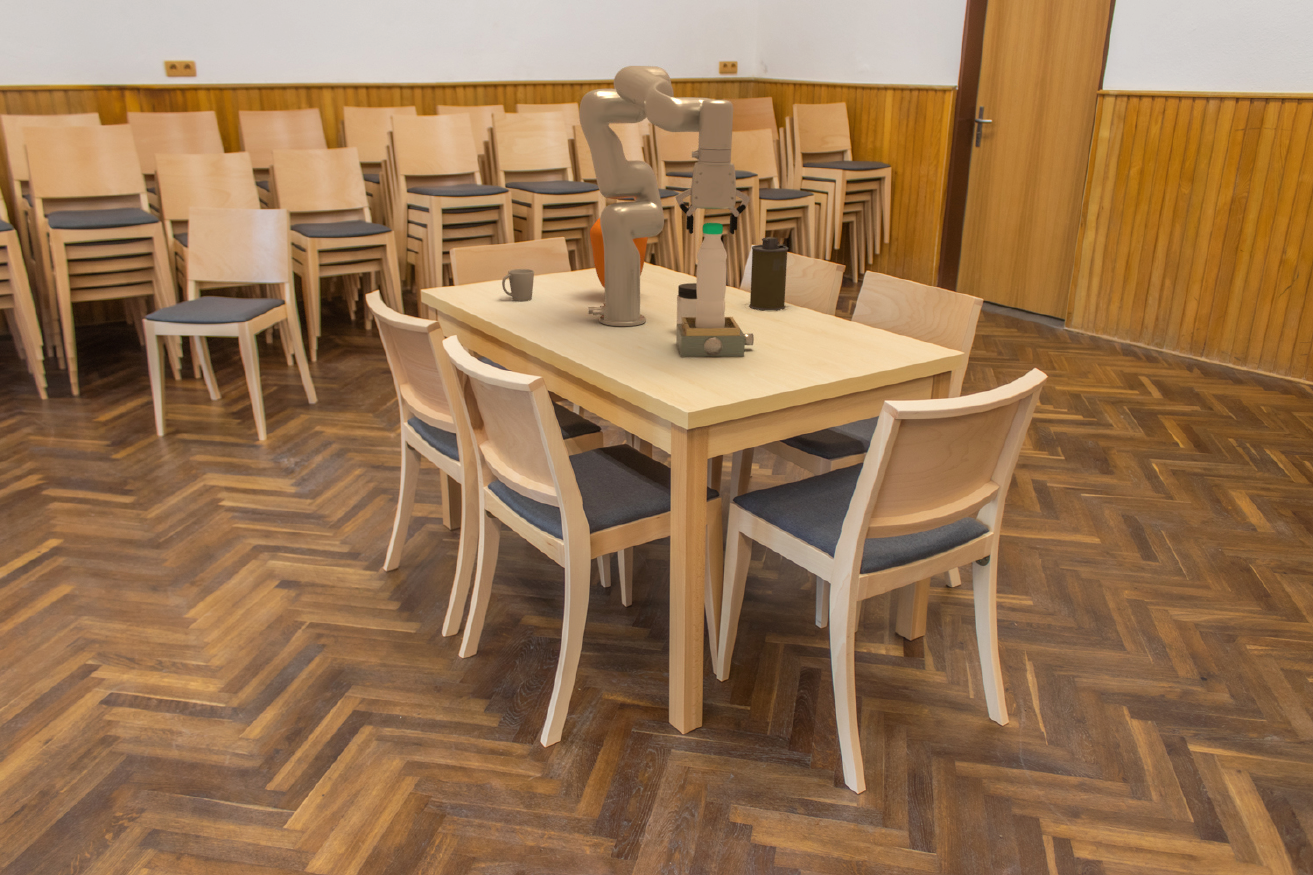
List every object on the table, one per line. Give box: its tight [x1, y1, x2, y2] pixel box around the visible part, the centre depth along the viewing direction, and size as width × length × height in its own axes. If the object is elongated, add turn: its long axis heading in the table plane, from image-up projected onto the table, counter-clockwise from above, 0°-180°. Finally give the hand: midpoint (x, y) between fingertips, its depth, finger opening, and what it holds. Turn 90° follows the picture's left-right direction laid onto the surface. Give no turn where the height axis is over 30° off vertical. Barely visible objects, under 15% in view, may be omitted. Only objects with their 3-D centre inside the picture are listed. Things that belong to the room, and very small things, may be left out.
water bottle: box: [695, 222, 728, 328], centre depth 230 cm, size 7×7×25 cm
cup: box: [501, 268, 535, 302], centre depth 288 cm, size 8×10×8 cm
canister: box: [749, 236, 789, 311], centre depth 280 cm, size 11×10×20 cm
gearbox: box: [675, 316, 755, 358], centre depth 234 cm, size 18×14×7 cm
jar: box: [676, 282, 697, 325], centre depth 251 cm, size 9×8×12 cm
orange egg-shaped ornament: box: [589, 217, 649, 289], centre depth 288 cm, size 17×17×25 cm
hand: (711, 233), depth 226 cm, fingers open, 9 cm apart
